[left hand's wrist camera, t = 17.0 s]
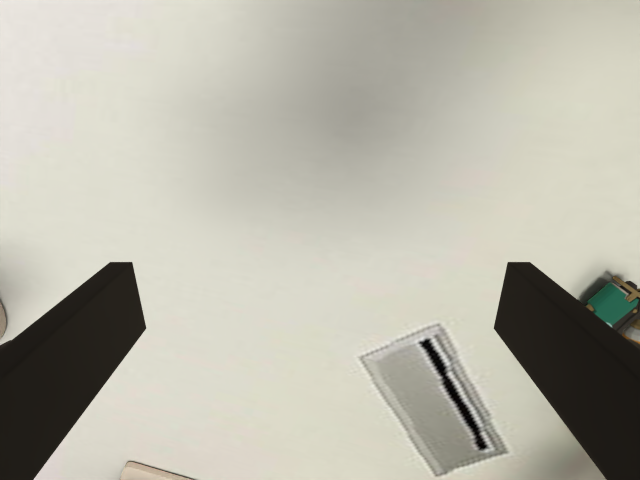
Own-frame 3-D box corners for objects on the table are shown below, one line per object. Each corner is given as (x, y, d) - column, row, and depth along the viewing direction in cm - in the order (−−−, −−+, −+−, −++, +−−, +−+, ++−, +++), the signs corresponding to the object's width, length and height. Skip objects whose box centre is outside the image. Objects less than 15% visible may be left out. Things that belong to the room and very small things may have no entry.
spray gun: (553, 398, 53) (498, 330, 49) (673, 340, 48) (621, 260, 44) (569, 422, 49) (511, 351, 45) (702, 362, 44) (648, 277, 40)
